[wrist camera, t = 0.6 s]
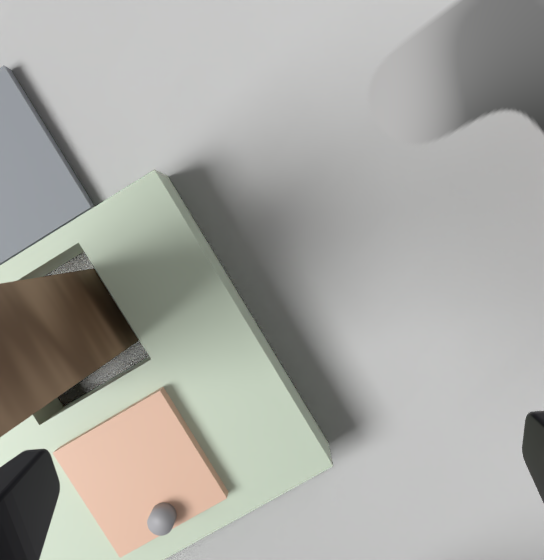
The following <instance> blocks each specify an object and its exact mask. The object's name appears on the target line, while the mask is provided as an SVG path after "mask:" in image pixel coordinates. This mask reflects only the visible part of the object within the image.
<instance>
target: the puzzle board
mask: <svg viewBox="0 0 544 560" xmlns="http://www.w3.org/2000/svg"><path fill="white" fill-rule="evenodd" d="M82 252H85V254H86V255H87V257H88V258H89V260H90V262H91V263H92V265H93V266H94V268H95V270H96V271H97V273H98V274H99V276H100V278H101V279H102V281H103V283H104V284H105V286H106V287H107V289H108V291H109V292H110V294H111V295H112V297H113V299H114V300H115V302H116V304H117V305H118V307H119V308H120V310H121V312H122V313H123V315H124V316H125V318H126V320H127V321H128V323H129V324H130V326H131V328H132V329H133V331H134V333H135V334H136V336H137V337H138V339H139V341H140V342H141V344H142V345H143V347H144V349H145V350H146V352H147V353H148V355H149V357H147V358H146V359H144V360H142V361H141V362H139V363H137V364H135V365H134V366H132V367H130V368H129V369H127V370H125V371H124V372H122V373H120V374H118V375H117V376H115V377H113V378H112V379H110V380H108V381H107V382H105V383H103V384H101V385H100V386H98V387H96V388H95V389H93V390H91V391H90V392H88V393H86V394H85V395H83V396H81V397H79V398H78V399H76V400H74V401H73V402H71V403H69V404H68V405H66V406H64V407H63V406H62V404H61V402H60V401H59V399H58V398H56V399H54V400H53V401H51V402H50V403H49V404H47V405H46V406H44V407H43V408H41V409H40V410H39V411H37V412H36V413H34V414H33V415H31V416H30V417H29V418H27V419H26V420H24V421H23V422H21V423H20V424H19V425H17V426H16V427H14V428H13V429H11V430H10V431H9V432H7V433H6V434H4V435H3V436H1V437H0V467H1V466H3V465H4V464H5V463H7V462H8V461H10V460H11V459H13V458H14V457H16V456H17V455H18V454H20V453H21V452H23V451H25V450H33V449H46V450H48V451H49V452H50V454H51V457H52V460H53V463H54V466H55V469H56V472H57V475H58V478H59V482H60V493H59V497H58V500H57V504H56V507H55V510H54V513H53V517H52V520H51V523H50V527H49V530H48V533H47V536H46V540H45V543H44V546H43V549H42V553H41V556H40V559H39V560H164V559H166V558H168V557H170V556H171V555H173V554H175V553H177V552H179V551H180V550H182V549H184V548H186V547H188V546H190V545H191V544H193V543H195V542H197V541H199V540H200V539H202V538H204V537H206V536H208V535H209V534H211V533H213V532H215V531H217V530H219V529H220V528H222V527H224V526H226V525H228V524H229V523H231V522H233V521H235V520H237V519H238V518H240V517H242V516H244V515H246V514H248V513H249V512H251V511H253V510H255V509H257V508H258V507H260V506H262V505H264V504H266V503H268V502H269V501H271V500H273V499H275V498H277V497H278V496H280V495H282V494H284V493H286V492H287V491H289V490H291V489H293V488H295V487H297V486H298V485H300V484H302V483H304V482H306V481H307V480H309V479H311V478H313V477H315V476H316V475H318V474H320V473H322V472H324V471H326V470H327V469H329V468H331V467H333V463H332V458H331V453H330V448H329V444H328V442H327V440H326V439H325V437H324V435H323V434H322V432H321V430H320V429H319V427H318V425H317V424H316V422H315V420H314V419H313V417H312V415H311V414H310V412H309V410H308V409H307V407H306V405H305V404H304V402H303V400H302V399H301V397H300V395H299V394H298V392H297V390H296V389H295V387H294V385H293V384H292V382H291V380H290V379H289V377H288V375H287V374H286V372H285V370H284V369H283V367H282V365H281V364H280V362H279V360H278V359H277V357H276V355H275V354H274V352H273V350H272V349H271V347H270V345H269V344H268V342H267V340H266V339H265V337H264V335H263V334H262V332H261V330H260V329H259V327H258V325H257V324H256V322H255V320H254V319H253V317H252V315H251V314H250V312H249V310H248V309H247V307H246V305H245V304H244V302H243V301H242V299H241V297H240V296H239V294H238V292H237V291H236V289H235V287H234V286H233V284H232V282H231V281H230V279H229V277H228V276H227V274H226V272H225V271H224V269H223V267H222V266H221V264H220V262H219V261H218V259H217V257H216V256H215V254H214V252H213V251H212V249H211V247H210V246H209V244H208V242H207V241H206V239H205V237H204V236H203V234H202V232H201V231H200V229H199V227H198V226H197V224H196V222H195V221H194V219H193V217H192V216H191V214H190V212H189V211H188V209H187V207H186V206H185V204H184V202H183V201H182V199H181V197H180V196H179V194H178V192H177V191H176V189H175V187H174V186H173V184H172V182H171V181H170V179H169V177H168V176H166V175H164V174H162V173H160V172H158V171H156V170H153V171H151V172H150V173H148V174H147V175H145V176H143V177H142V178H140V179H139V180H137V181H135V182H134V183H132V184H131V185H129V186H127V187H126V188H124V189H122V190H121V191H119V192H118V193H116V194H114V195H113V196H111V197H110V198H108V199H106V200H105V201H103V202H102V203H100V204H98V205H97V206H95V207H93V208H92V209H90V210H89V211H87V212H85V213H84V214H82V215H81V216H79V217H77V218H76V219H74V220H73V221H71V222H69V223H68V224H66V225H64V226H63V227H61V228H60V229H58V230H56V231H55V232H53V233H52V234H50V235H48V236H47V237H45V238H44V239H42V240H40V241H39V242H37V243H35V244H34V245H32V246H31V247H29V248H27V249H26V250H24V251H23V252H21V253H19V254H18V255H16V256H15V257H13V258H11V259H10V260H8V261H6V262H5V263H3V264H2V265H0V284H1V283H7V282H13V281H19V280H25V279H32V278H38V277H43V276H45V275H47V274H48V273H50V272H51V271H53V270H55V269H56V268H58V267H60V266H61V265H63V264H65V263H66V262H68V261H69V260H71V259H73V258H74V257H76V256H78V255H79V254H81V253H82Z"/></svg>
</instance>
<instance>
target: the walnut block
mask: <svg viewBox="0 0 544 560" xmlns="http://www.w3.org/2000/svg"><path fill="white" fill-rule="evenodd" d="M137 341H139V340H138V339H137V337H136V335H135V334H134V332H133V331H132V329H131V327H130V326H129V324H128V323H127V321H126V319H125V318H124V316H123V314H122V313H121V311H120V310H119V308H118V306H117V305H116V303H115V302H114V300H113V298H112V297H111V295H110V294H109V292H108V290H107V289H106V287H105V285H104V284H103V282H102V281H101V279H100V277H99V276H98V274H97V273H96V271H95V269H88V270H81V271H75V272H69V273H63V274H56V275H50V276H44V277H38V278H32V279H25V280H19V281H13V282H7V283H1V284H0V437H1V436H3V435H4V434H6V433H7V432H9V431H10V430H11V429H13V428H14V427H16V426H17V425H19V424H20V423H21V422H23V421H24V420H26V419H27V418H29V417H30V416H31V415H33V414H34V413H36V412H37V411H39V410H40V409H41V408H43V407H44V406H46V405H47V404H49V403H50V402H51V401H53V400H54V399H56V398H57V397H59V396H60V395H61V394H63V393H64V392H66V391H67V390H69V389H70V388H71V387H73V386H74V385H76V384H77V383H79V382H80V381H81V380H83V379H84V378H86V377H87V376H89V375H90V374H92V373H93V372H94V371H96V370H97V369H99V368H100V367H102V366H103V365H104V364H106V363H107V362H109V361H110V360H112V359H113V358H114V357H116V356H117V355H119V354H120V353H122V352H123V351H124V350H126V349H127V348H129V347H130V346H132V345H133V344H134V343H136V342H137Z"/></svg>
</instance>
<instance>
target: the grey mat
mask: <svg viewBox="0 0 544 560" xmlns="http://www.w3.org/2000/svg"><path fill="white" fill-rule="evenodd" d="M93 207H95V206H94V204H93V203H92V201H91V199H90V198H89V196H88V195H87V193H86V191H85V190H84V188H83V186H82V185H81V183H80V182H79V180H78V178H77V177H76V175H75V173H74V172H73V170H72V169H71V167H70V165H69V164H68V162H67V160H66V159H65V157H64V156H63V154H62V152H61V151H60V149H59V147H58V146H57V144H56V143H55V141H54V139H53V138H52V136H51V134H50V133H49V131H48V130H47V128H46V126H45V125H44V123H43V121H42V120H41V118H40V116H39V115H38V113H37V112H36V110H35V108H34V107H33V105H32V103H31V102H30V100H29V99H28V97H27V95H26V94H25V92H24V90H23V89H22V87H21V86H20V84H19V82H18V81H17V79H16V77H15V76H14V74H13V73H12V71H11V70H10V69H9V68H7V67H5V66H2V67H1V68H0V265H2V264H3V263H5V262H6V261H8V260H10V259H11V258H13V257H15V256H16V255H18V254H19V253H21V252H23V251H24V250H26V249H27V248H29V247H31V246H32V245H34V244H35V243H37V242H39V241H40V240H42V239H44V238H45V237H47V236H48V235H50V234H52V233H53V232H55V231H56V230H58V229H60V228H61V227H63V226H64V225H66V224H68V223H69V222H71V221H73V220H74V219H76V218H77V217H79V216H81V215H82V214H84V213H85V212H87V211H89V210H90V209H92V208H93Z"/></svg>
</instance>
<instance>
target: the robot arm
mask: <svg viewBox="0 0 544 560" xmlns="http://www.w3.org/2000/svg"><path fill="white" fill-rule="evenodd" d="M522 452H523V457H524V460H525V463H526V465H527V467H528V470H529V472H530V474H531V476H532V478H533V481H534V483H535V485H536V487H537V489H538V492H539V494H540V496H541V498H542V501H543V503H544V411H535V412H530V413H528V414H527V416H526V420H525V428H524V436H523V445H522ZM59 493H60V482H59V478H58V475H57V472H56V469H55V466H54V463H53V460H52V457H51V454H50V452H49V451H48V450H46V449H33V450H25V451H23V452H21V453H20V454H18V455H17V456H16V457H14V458H13V459H11V460H10V461H8V462H7V463H5V464H4V465H3V466H1V467H0V560H39V559H40V556H41V553H42V549H43V546H44V543H45V540H46V536H47V533H48V530H49V527H50V523H51V520H52V517H53V513H54V510H55V507H56V504H57V500H58V497H59Z"/></svg>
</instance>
